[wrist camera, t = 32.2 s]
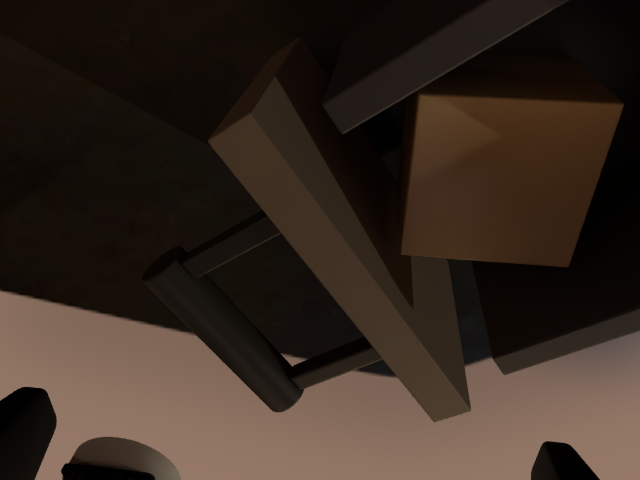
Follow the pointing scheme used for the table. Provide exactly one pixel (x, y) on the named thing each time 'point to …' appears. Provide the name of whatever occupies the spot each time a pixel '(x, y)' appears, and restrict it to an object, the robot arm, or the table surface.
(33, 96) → the table surface
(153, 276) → the pull-out drawer box
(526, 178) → the block
